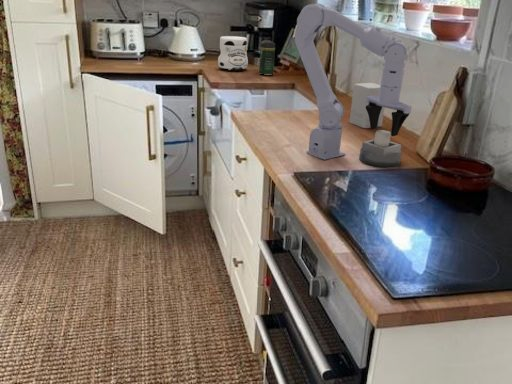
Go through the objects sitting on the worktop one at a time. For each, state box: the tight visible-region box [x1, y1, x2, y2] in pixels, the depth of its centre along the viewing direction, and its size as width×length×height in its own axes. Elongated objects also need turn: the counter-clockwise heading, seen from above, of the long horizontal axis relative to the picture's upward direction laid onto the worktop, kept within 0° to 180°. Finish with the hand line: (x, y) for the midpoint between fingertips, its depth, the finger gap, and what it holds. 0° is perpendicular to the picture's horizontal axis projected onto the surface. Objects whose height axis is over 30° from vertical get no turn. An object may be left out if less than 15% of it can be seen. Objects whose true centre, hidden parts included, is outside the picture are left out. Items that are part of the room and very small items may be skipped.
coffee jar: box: [258, 39, 276, 75], centre depth 272 cm, size 10×8×19 cm
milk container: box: [217, 35, 249, 71], centre depth 282 cm, size 17×17×18 cm
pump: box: [373, 129, 392, 148], centre depth 146 cm, size 6×4×6 cm
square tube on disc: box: [358, 138, 402, 169], centre depth 147 cm, size 12×12×6 cm
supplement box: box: [349, 82, 385, 129], centre depth 184 cm, size 9×9×15 cm
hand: (383, 132), depth 145 cm, fingers open, 7 cm apart
